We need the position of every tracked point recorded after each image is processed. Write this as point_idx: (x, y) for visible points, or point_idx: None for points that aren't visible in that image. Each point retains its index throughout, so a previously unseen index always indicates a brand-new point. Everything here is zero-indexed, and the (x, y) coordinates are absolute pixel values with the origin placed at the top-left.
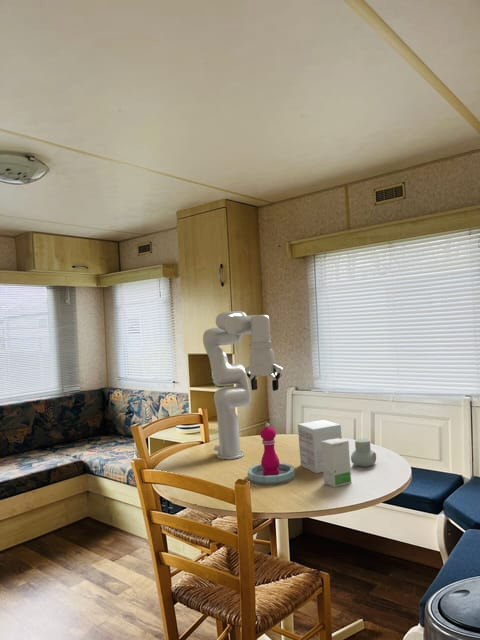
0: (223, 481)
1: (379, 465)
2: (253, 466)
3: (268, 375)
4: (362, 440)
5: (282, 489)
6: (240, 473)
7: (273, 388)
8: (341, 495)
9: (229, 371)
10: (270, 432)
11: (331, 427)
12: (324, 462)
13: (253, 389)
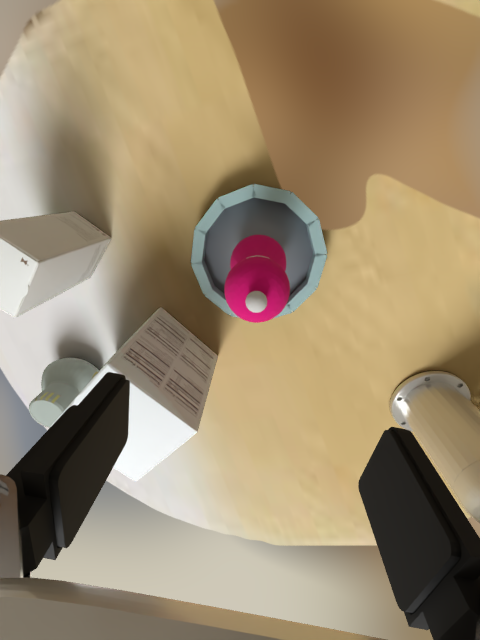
0: (388, 193)
1: None
2: (318, 276)
3: (4, 580)
4: (46, 414)
5: (194, 166)
6: (356, 272)
7: (103, 385)
8: (36, 159)
9: None
10: (235, 270)
11: (70, 404)
12: (71, 240)
13: (388, 432)
